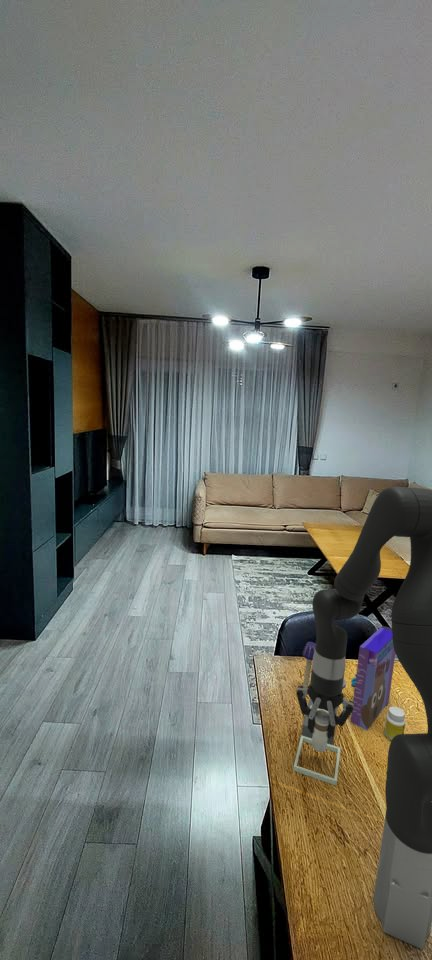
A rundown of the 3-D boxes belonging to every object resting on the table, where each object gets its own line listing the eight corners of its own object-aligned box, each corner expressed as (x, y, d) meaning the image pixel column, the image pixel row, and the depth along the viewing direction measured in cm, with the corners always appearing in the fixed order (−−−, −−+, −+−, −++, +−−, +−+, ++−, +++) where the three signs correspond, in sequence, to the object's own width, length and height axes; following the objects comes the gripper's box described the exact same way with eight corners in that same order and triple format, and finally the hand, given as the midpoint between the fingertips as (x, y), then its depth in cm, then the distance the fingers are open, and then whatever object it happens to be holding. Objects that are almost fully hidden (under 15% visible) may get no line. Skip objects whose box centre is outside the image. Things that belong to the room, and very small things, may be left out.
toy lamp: (313, 690, 133) (319, 641, 131) (313, 699, 128) (318, 649, 126) (298, 687, 134) (303, 638, 132) (297, 696, 130) (302, 646, 127)
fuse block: (332, 748, 110) (336, 715, 108) (301, 738, 113) (305, 706, 111) (336, 718, 121) (340, 688, 119) (308, 710, 124) (311, 680, 122)
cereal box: (366, 734, 116) (377, 653, 112) (350, 725, 119) (359, 646, 115) (388, 704, 129) (398, 630, 125) (372, 696, 132) (382, 625, 128)
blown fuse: (325, 754, 101) (329, 722, 100) (310, 749, 103) (313, 717, 101) (327, 743, 105) (331, 712, 104) (312, 738, 106) (315, 708, 105)
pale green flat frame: (335, 789, 97) (336, 781, 97) (292, 773, 101) (293, 766, 101) (339, 754, 108) (340, 747, 107) (300, 742, 111) (301, 735, 111)
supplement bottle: (404, 747, 112) (408, 719, 110) (385, 744, 112) (389, 715, 111) (400, 734, 116) (404, 707, 115) (382, 731, 117) (385, 703, 116)
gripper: (295, 669, 100) (288, 734, 102) (358, 686, 95) (349, 754, 97) (301, 653, 106) (294, 714, 109) (359, 668, 102) (351, 732, 104)
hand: (320, 733), depth 103 cm, fingers closed on blown fuse, 3 cm apart
